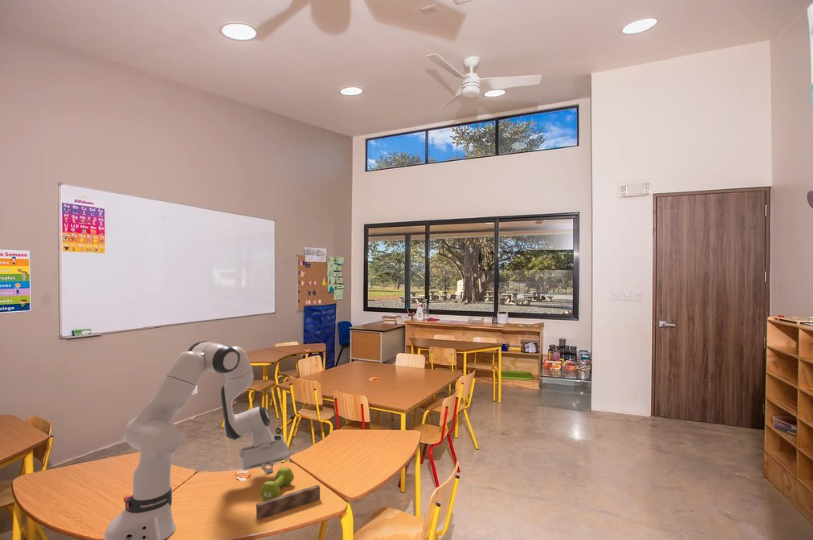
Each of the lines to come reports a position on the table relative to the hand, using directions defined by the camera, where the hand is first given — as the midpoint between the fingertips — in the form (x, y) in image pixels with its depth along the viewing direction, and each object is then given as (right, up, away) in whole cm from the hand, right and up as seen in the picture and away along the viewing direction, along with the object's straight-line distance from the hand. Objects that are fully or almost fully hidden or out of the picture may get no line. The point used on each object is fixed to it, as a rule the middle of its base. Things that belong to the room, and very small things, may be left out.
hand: (269, 473), depth 177 cm
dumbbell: (+6, -4, -8) cm, 11 cm away
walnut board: (+14, -3, -20) cm, 25 cm away
